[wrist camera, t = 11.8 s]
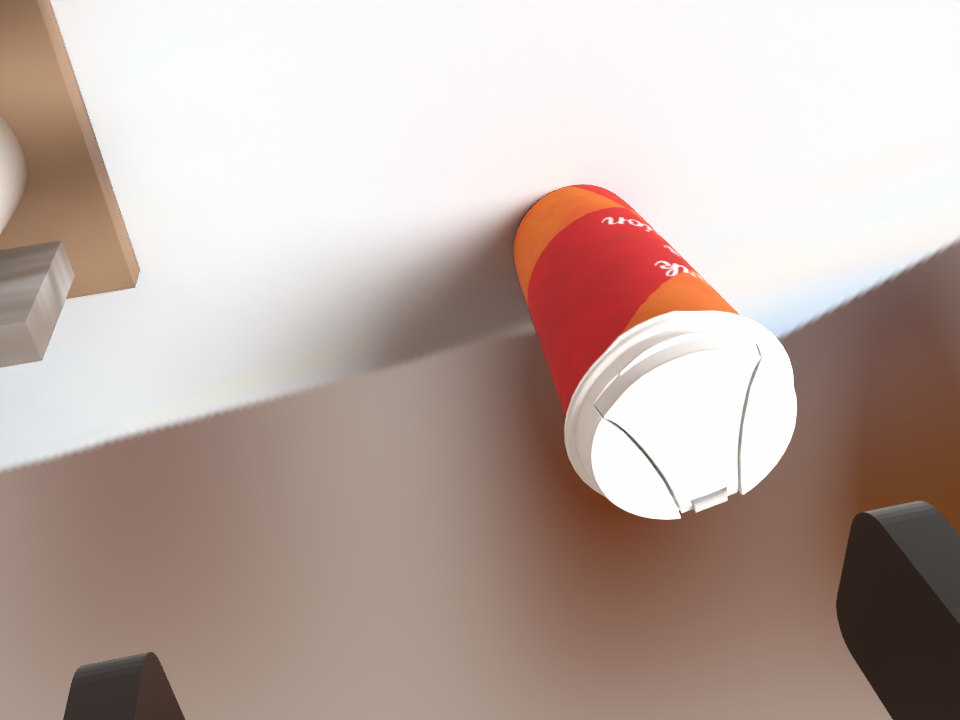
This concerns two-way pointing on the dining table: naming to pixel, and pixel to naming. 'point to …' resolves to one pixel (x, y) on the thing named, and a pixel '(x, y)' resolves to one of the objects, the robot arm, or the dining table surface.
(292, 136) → the dining table surface
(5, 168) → the roll
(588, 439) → the paper cup
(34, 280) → the holder
